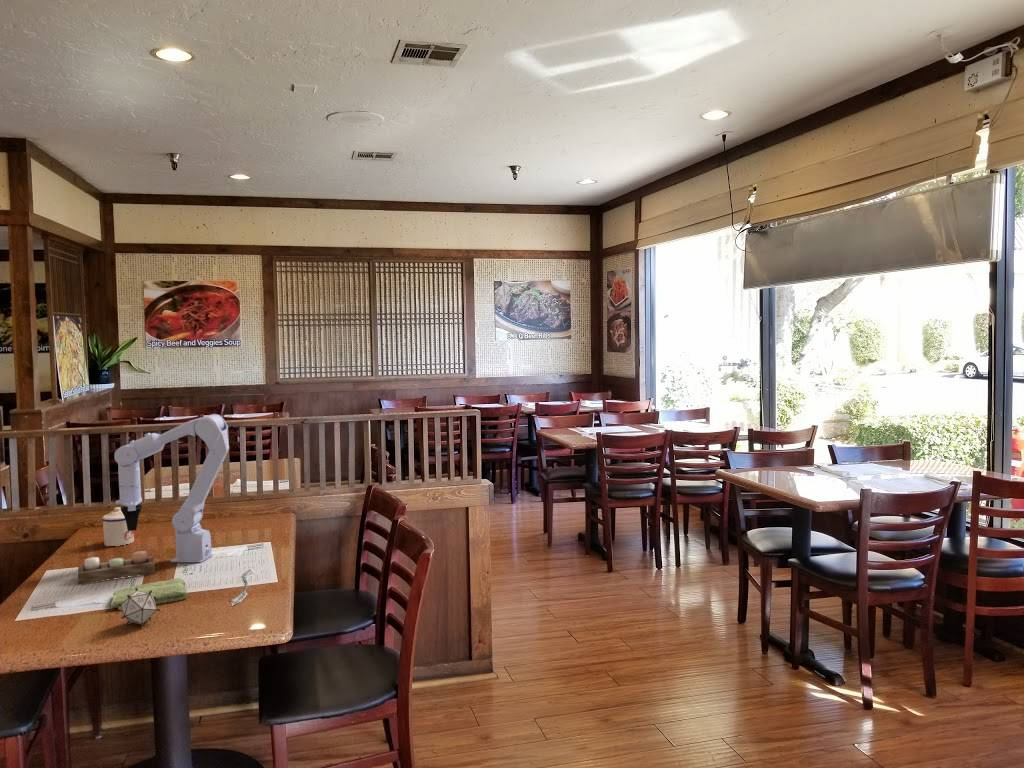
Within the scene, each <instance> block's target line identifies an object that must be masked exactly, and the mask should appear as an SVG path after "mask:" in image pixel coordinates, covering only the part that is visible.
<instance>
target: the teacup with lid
mask: <svg viewBox="0 0 1024 768" xmlns="http://www.w3.org/2000/svg"><path fill="white" fill-rule="evenodd" d="M101 520H102V524H103V525H102V527H103V543H104V546H105V547H109V546H116V547H121V546H120V545H124V546H127V545H126V544H128V545H130V543H131V544H132V543H133V542H134V541H135V537H134V536H135V535H134V534H135V533H134V532H135V531H128V528H127V524H126V520H125V517H124V515H123V513H122V512H121V507H119V506H117V507H114V508H113V510H112V511H110V512H109V513H108V514H104V515H103V516H102V518H101Z"/></svg>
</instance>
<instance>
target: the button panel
mask: <svg viewBox="0 0 1024 768" xmlns="http://www.w3.org/2000/svg"><path fill="white" fill-rule="evenodd" d="M123 563H124V566H118V567H110V568H109V561H106V562H99V565H100V567H99V568H97V569H93V570H86V569H85V564H83V565H78V567H77V584H79V585H85V584H84V583H86V584H92V583H91V582H93V583H97V582H96V581H100V582H103V581H102V580H107V579H114V578H121V577H128V576H135V577H138V576H137V575H142V576H148V575H147V574H149V575H153V574H156V573H155V561H154V556H153V555H151V556H150V555H149V556H147V561H146V562H143V563H133V558H126V559H123ZM145 574H146V575H145ZM128 578H129V577H128ZM121 579H122V578H121ZM114 580H115V579H114ZM107 581H108V580H107Z"/></svg>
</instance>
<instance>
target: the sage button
mask: <svg viewBox="0 0 1024 768" xmlns="http://www.w3.org/2000/svg"><path fill="white" fill-rule="evenodd" d="M123 560H124V558H123V557H117V558H111V559H109V560H108V562H109V568H110V567H118V566H124V563H123Z"/></svg>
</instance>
